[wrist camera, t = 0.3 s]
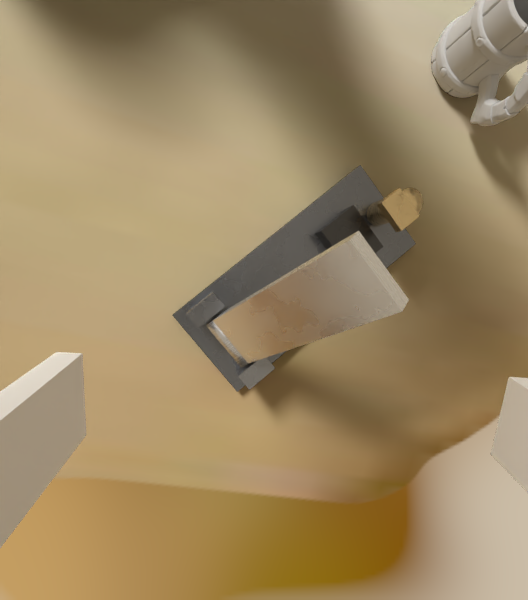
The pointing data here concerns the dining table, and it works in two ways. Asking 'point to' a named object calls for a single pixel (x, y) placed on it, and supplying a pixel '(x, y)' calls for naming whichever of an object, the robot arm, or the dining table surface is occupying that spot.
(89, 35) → the dining table surface
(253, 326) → the white flat bar
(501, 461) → the robot arm
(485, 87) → the mug
